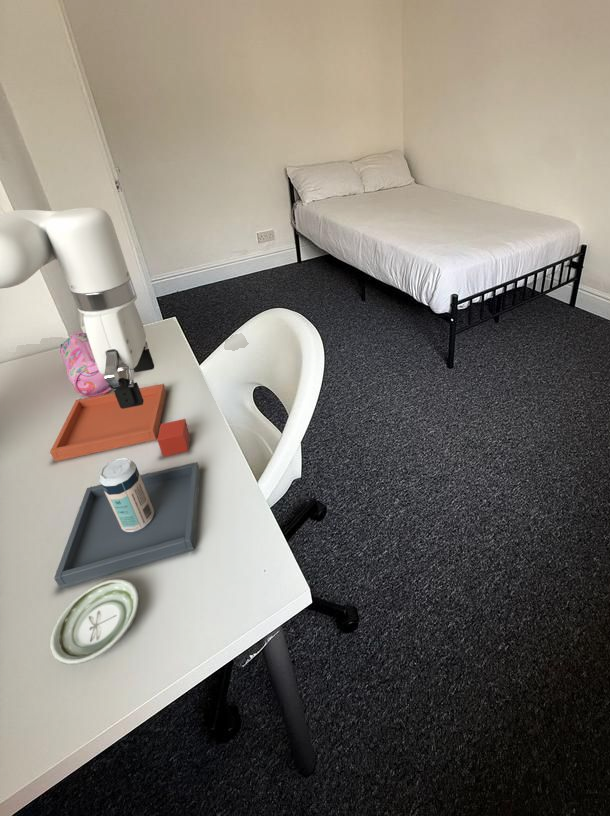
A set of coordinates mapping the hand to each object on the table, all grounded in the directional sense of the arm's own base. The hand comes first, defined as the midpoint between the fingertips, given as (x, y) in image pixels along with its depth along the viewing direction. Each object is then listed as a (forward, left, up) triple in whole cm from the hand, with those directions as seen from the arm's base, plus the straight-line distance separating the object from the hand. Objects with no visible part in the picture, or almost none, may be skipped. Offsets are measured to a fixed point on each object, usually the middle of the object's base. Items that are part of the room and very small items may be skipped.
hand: (139, 386), depth 69 cm
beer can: (-3, -11, -19) cm, 22 cm away
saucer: (-5, -26, -19) cm, 32 cm away
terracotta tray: (-12, +16, -19) cm, 28 cm away
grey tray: (-3, -11, -19) cm, 22 cm away
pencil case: (-21, +36, -19) cm, 46 cm away
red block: (+1, +5, -19) cm, 20 cm away
